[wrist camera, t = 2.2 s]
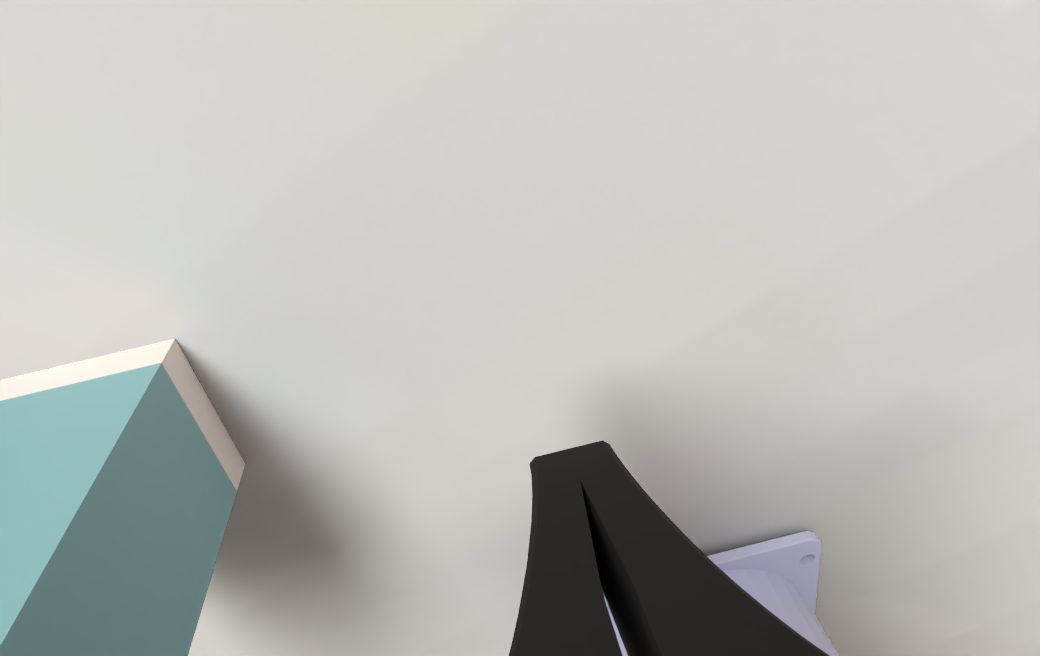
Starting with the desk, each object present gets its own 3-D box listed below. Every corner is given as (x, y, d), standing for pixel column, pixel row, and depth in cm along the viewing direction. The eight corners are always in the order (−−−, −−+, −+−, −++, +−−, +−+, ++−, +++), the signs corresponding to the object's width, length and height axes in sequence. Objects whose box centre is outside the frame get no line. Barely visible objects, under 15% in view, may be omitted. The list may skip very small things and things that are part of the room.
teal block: (245, 463, 17) (140, 810, 10) (93, 500, 17) (-112, 875, 10) (175, 338, 15) (-14, 670, 8) (1, 379, 15) (-336, 750, 8)
